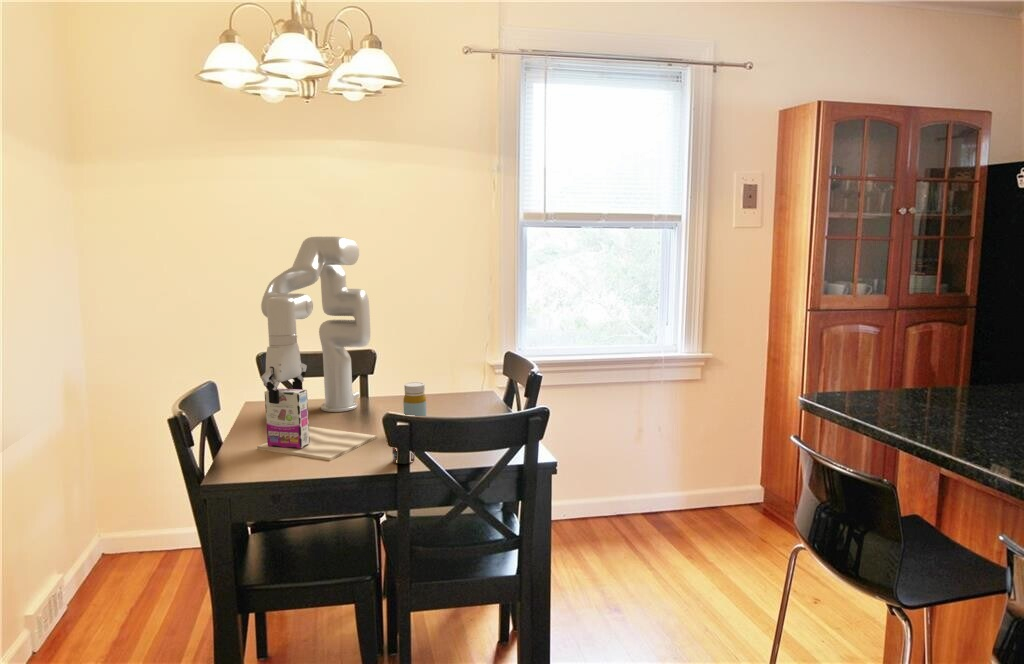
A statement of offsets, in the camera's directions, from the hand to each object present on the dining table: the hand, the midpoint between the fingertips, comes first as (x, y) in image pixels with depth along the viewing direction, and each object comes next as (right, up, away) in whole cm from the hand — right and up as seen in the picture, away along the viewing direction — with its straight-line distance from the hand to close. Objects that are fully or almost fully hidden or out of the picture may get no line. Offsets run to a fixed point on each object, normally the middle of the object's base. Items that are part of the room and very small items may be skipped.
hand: (286, 399), depth 193 cm
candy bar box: (0, -14, +2) cm, 14 cm away
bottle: (+34, -12, +19) cm, 41 cm away
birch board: (+7, -14, +6) cm, 17 cm away
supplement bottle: (+35, -16, -10) cm, 40 cm away
